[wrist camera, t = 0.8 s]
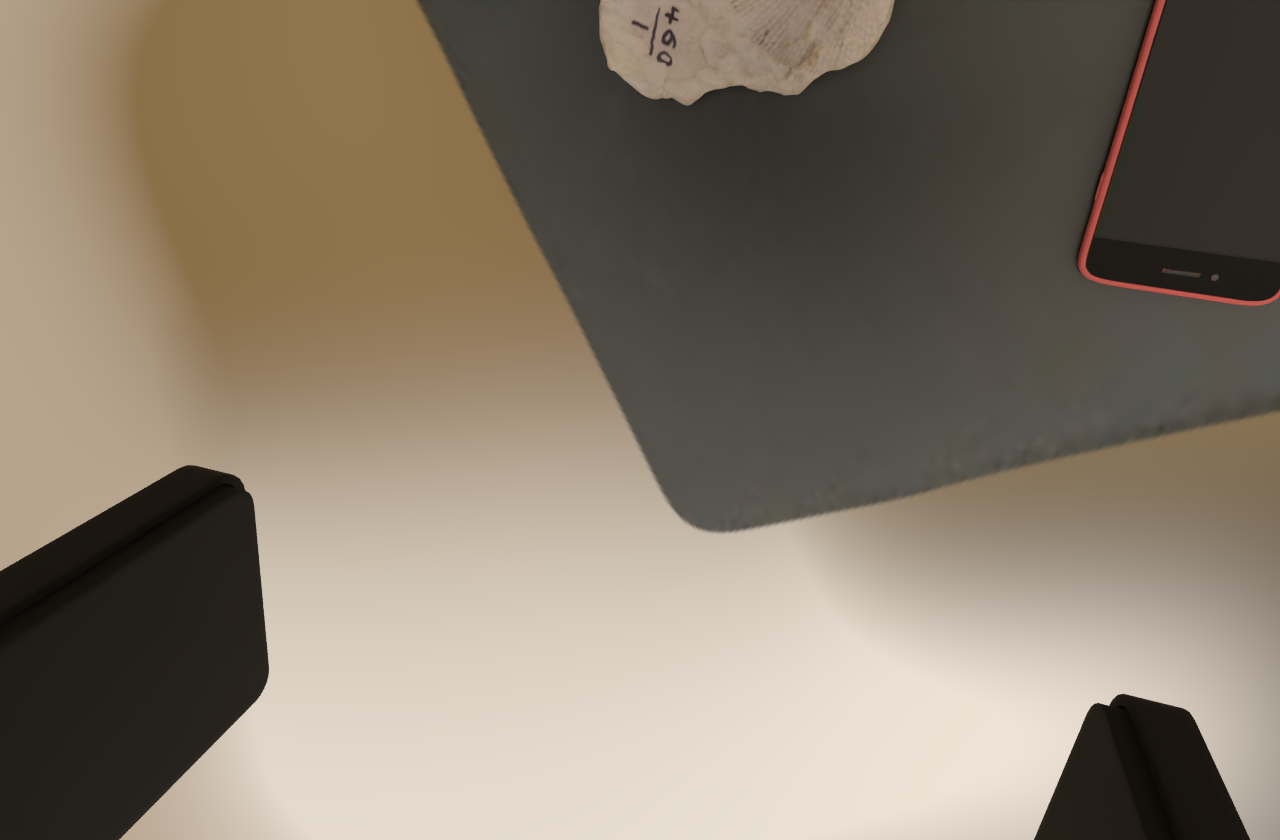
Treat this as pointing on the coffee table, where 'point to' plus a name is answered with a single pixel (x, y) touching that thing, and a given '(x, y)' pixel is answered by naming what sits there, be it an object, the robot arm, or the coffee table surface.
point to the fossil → (735, 42)
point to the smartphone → (1196, 159)
